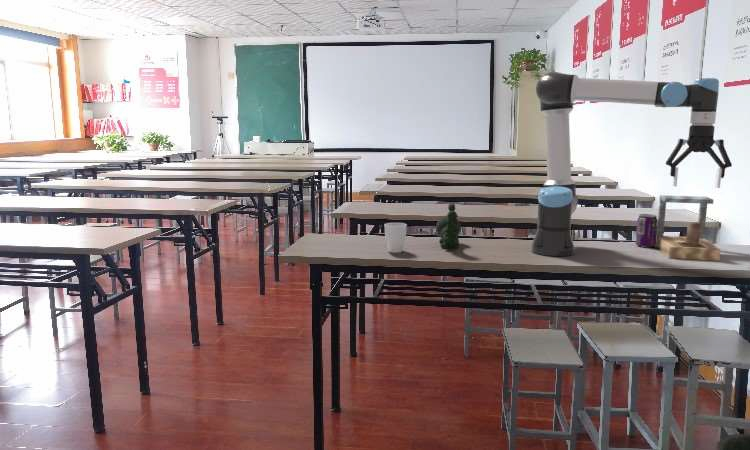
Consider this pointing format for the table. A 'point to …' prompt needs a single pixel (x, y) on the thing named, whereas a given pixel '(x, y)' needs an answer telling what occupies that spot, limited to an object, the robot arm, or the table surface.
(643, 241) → the beverage can
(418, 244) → the table surface
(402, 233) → the cup
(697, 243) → the peg
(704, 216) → the socket station
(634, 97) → the robot arm
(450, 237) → the toy figurine
